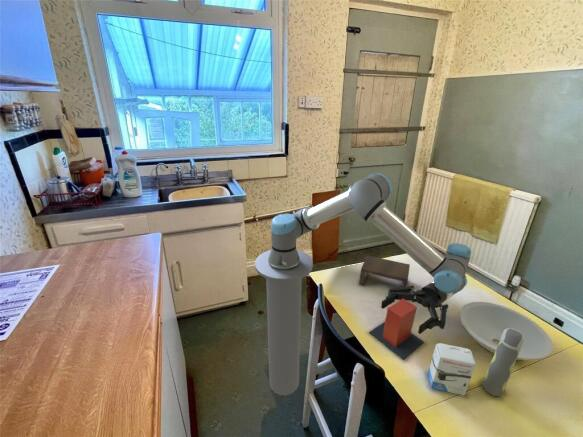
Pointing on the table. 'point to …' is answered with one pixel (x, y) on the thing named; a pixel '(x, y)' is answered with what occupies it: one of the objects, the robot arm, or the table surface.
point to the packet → (399, 322)
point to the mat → (403, 348)
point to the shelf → (384, 269)
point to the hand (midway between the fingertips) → (399, 316)
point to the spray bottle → (503, 362)
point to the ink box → (451, 368)
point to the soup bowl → (495, 319)
